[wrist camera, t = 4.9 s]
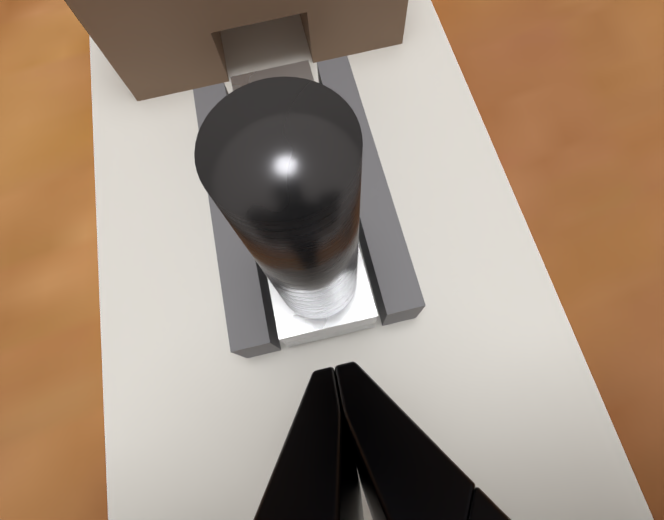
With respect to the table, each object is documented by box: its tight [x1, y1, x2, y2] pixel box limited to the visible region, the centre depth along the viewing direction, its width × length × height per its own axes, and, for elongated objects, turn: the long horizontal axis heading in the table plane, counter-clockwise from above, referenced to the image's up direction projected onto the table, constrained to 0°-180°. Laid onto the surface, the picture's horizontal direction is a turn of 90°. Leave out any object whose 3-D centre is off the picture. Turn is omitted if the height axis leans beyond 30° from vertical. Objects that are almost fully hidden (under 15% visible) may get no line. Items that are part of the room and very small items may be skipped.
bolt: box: [194, 60, 378, 347], centre depth 11 cm, size 10×3×9 cm, turn 13°
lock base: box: [64, 0, 654, 520], centre depth 12 cm, size 30×16×10 cm, turn 13°
